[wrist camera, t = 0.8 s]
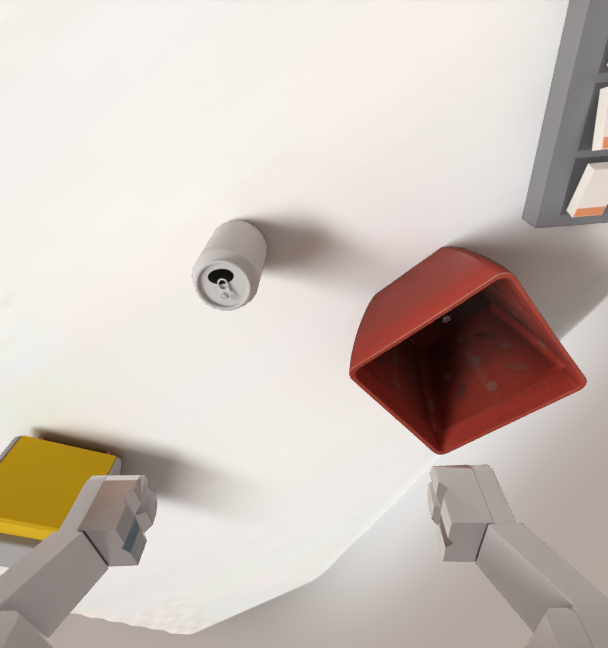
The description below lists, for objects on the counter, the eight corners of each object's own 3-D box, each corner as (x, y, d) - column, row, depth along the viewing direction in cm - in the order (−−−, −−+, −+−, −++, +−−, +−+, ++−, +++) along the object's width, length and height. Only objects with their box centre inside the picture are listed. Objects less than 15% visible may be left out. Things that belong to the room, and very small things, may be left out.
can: (260, 213, 50) (246, 250, 40) (273, 266, 54) (263, 311, 44) (204, 223, 51) (177, 261, 41) (221, 274, 55) (200, 320, 45)
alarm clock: (26, 473, 81) (-42, 568, 66) (21, 424, 73) (-57, 520, 58) (121, 493, 85) (79, 588, 69) (127, 448, 76) (80, 545, 61)
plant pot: (411, 373, 64) (439, 459, 50) (337, 297, 56) (344, 374, 42) (522, 306, 57) (591, 386, 42) (453, 209, 49) (509, 267, 35)
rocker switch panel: (593, -112, 33) (621, -129, 30) (705, -127, 33) (745, -147, 30) (522, 218, 49) (535, 228, 46) (596, 212, 49) (614, 222, 46)
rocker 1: (588, 163, 41) (595, 170, 40) (620, 160, 40) (628, 167, 40) (566, 210, 45) (572, 217, 44) (595, 208, 45) (602, 215, 44)
